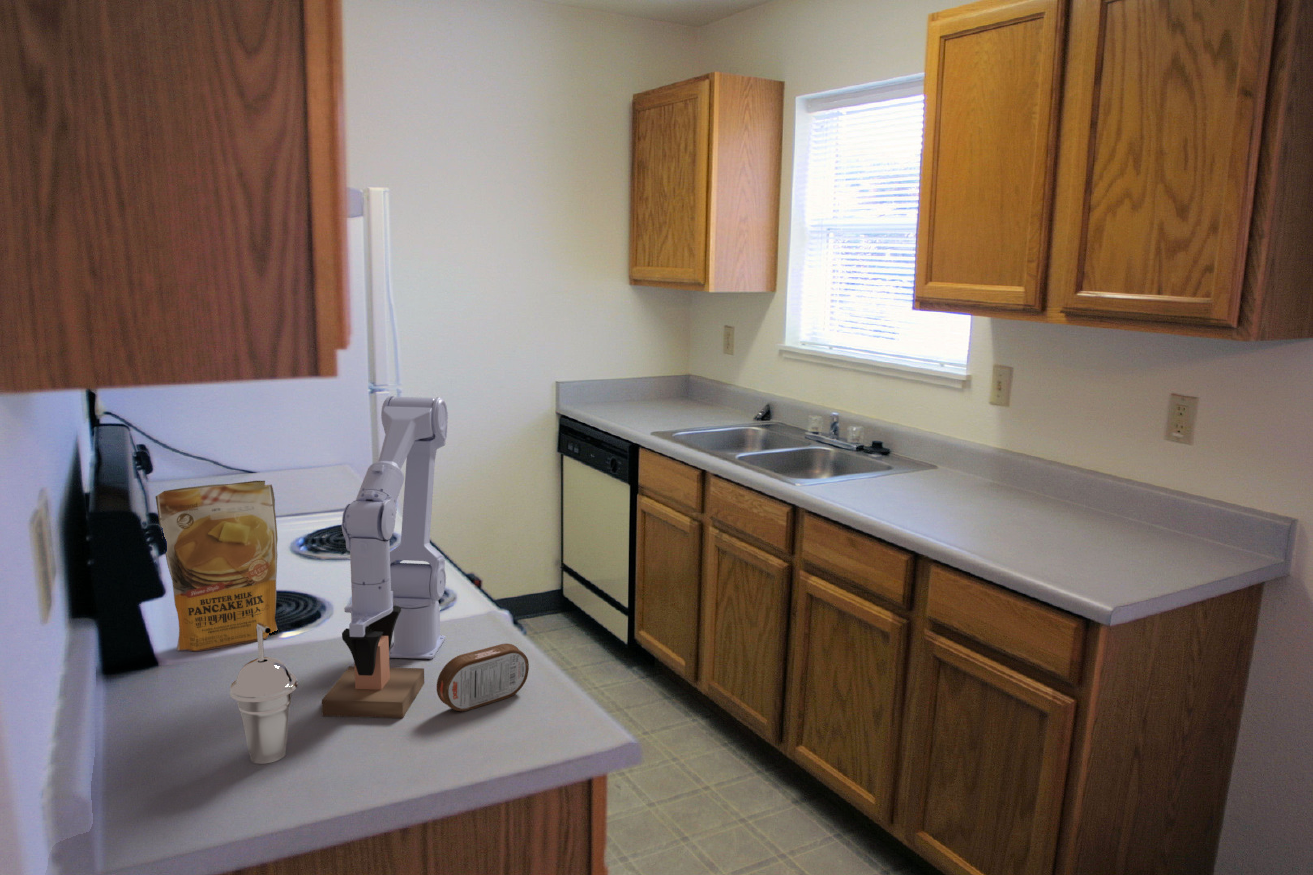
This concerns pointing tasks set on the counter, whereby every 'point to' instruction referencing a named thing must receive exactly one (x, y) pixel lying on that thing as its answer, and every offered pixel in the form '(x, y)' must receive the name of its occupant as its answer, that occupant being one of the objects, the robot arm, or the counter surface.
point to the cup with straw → (264, 703)
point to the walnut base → (374, 695)
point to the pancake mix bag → (221, 561)
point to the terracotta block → (376, 669)
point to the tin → (482, 677)
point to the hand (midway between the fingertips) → (374, 663)
